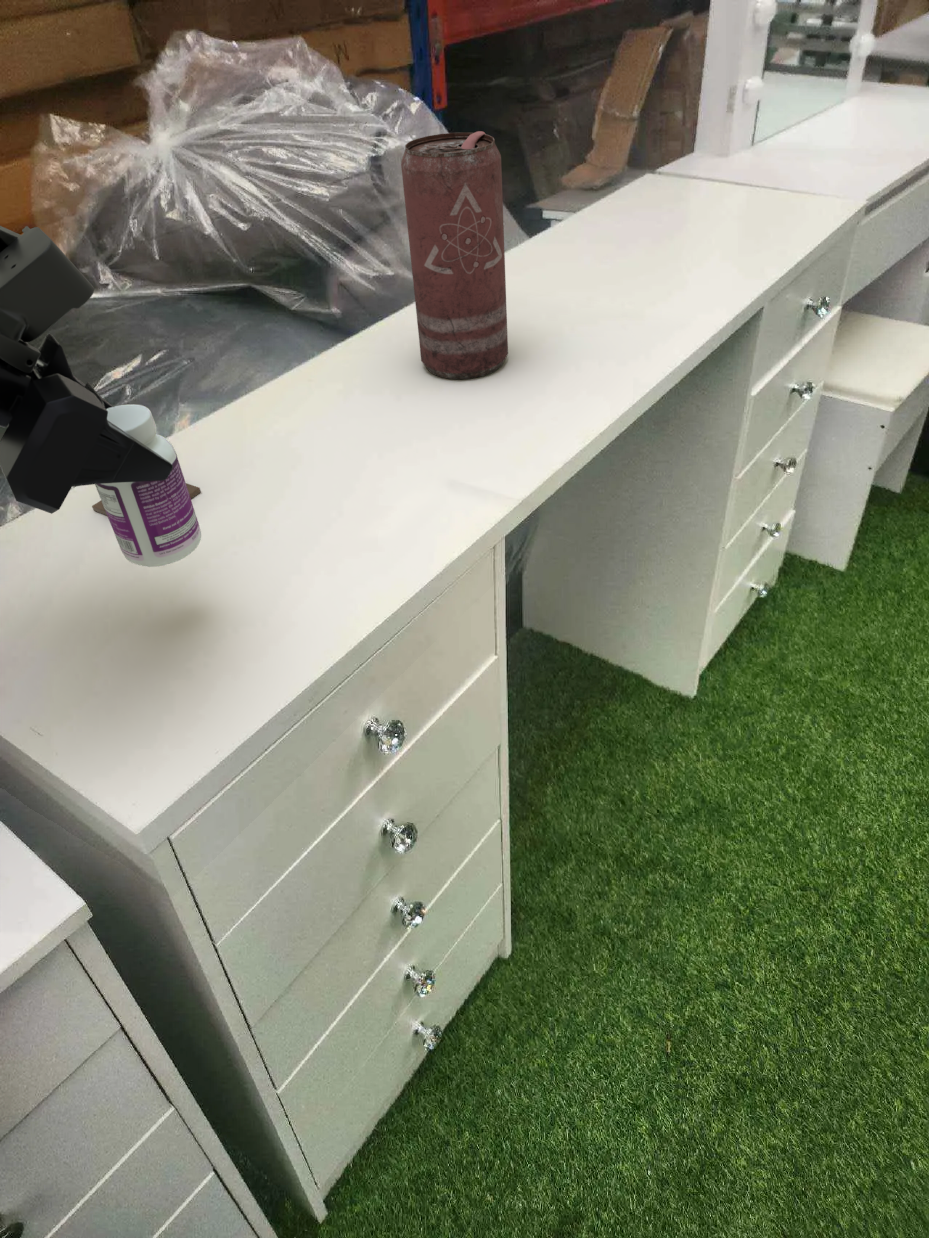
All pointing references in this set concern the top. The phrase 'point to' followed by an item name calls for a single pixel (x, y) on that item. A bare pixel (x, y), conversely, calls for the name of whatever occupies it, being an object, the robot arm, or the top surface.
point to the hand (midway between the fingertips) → (155, 454)
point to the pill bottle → (150, 500)
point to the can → (457, 252)
